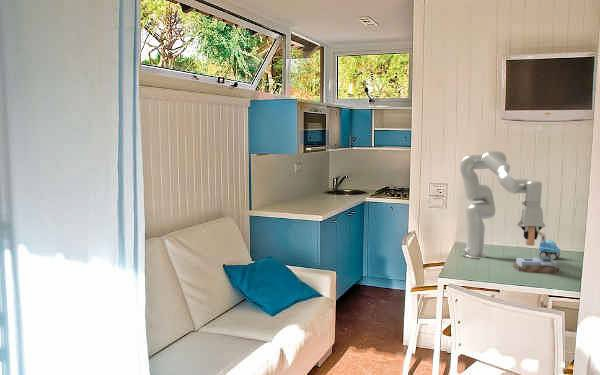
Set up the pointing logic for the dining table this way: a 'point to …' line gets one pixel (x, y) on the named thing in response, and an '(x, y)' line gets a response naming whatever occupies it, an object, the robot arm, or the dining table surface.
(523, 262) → the pale blue peg socket
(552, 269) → the cradle
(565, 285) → the dining table surface
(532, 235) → the tail peg
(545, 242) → the toy excavator
